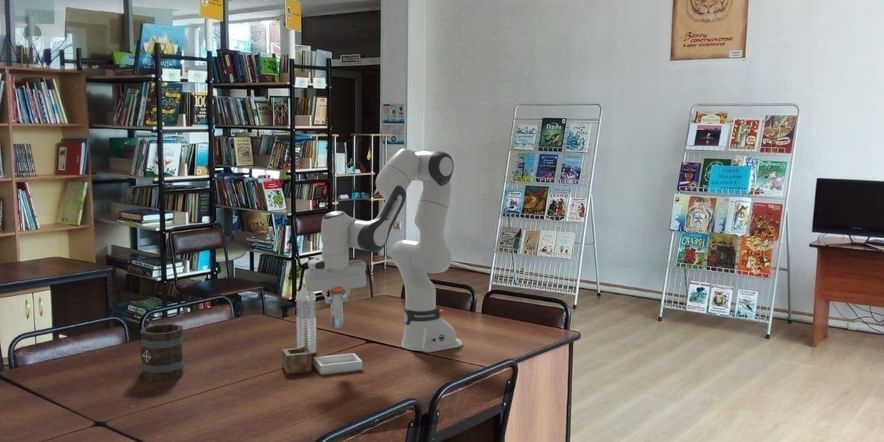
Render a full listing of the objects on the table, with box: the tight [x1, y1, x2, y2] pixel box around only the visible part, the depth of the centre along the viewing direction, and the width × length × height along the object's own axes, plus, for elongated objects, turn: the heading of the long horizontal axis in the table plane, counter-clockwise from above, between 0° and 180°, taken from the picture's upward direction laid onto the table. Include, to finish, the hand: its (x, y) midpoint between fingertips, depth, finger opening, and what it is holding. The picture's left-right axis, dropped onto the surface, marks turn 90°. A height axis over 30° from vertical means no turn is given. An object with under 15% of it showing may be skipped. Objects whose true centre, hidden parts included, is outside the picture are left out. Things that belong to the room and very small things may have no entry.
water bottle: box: [295, 283, 317, 356], centre depth 272 cm, size 7×7×25 cm
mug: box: [139, 323, 185, 381], centre depth 250 cm, size 20×14×15 cm
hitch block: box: [281, 347, 312, 375], centre depth 255 cm, size 8×8×6 cm
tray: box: [313, 352, 363, 376], centre depth 256 cm, size 14×10×3 cm
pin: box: [328, 287, 345, 329], centre depth 254 cm, size 5×5×14 cm
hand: (336, 302), depth 254 cm, fingers closed on pin, 4 cm apart
